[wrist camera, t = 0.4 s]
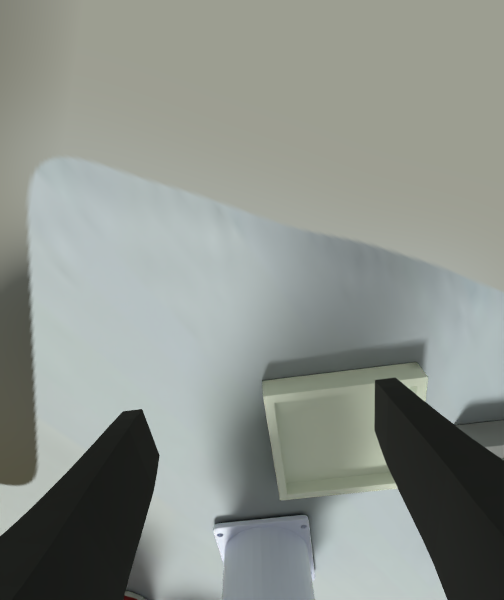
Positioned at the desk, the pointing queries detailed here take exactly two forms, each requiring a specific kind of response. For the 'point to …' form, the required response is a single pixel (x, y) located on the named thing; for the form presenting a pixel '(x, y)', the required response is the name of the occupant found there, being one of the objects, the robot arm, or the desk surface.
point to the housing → (487, 435)
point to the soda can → (132, 596)
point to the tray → (331, 430)
